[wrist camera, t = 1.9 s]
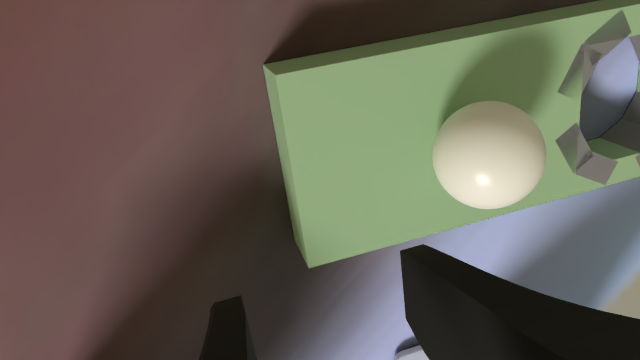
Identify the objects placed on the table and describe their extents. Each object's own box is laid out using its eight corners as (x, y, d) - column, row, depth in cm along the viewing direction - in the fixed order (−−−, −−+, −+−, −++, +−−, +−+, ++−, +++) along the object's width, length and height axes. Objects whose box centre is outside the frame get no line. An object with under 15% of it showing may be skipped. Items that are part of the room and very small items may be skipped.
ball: (502, 173, 22) (568, 211, 18) (417, 195, 21) (469, 240, 18) (503, 81, 20) (575, 104, 17) (411, 102, 20) (466, 130, 16)
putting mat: (657, 144, 27) (701, 159, 25) (294, 240, 23) (308, 268, 21) (678, -15, 24) (731, -15, 22) (262, 64, 20) (275, 75, 18)
